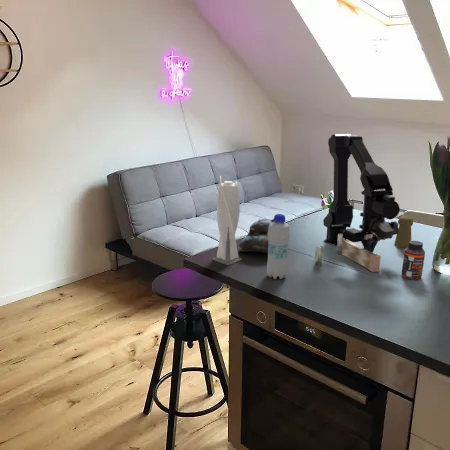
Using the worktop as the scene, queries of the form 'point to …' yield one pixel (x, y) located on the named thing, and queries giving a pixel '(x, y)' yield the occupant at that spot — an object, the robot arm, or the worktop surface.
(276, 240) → the bottle
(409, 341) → the worktop surface
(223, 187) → the skyscraper
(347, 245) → the light brown wooden plank
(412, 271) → the supplement bottle
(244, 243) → the grey lumpy mass
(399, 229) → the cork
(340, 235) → the gate posts
